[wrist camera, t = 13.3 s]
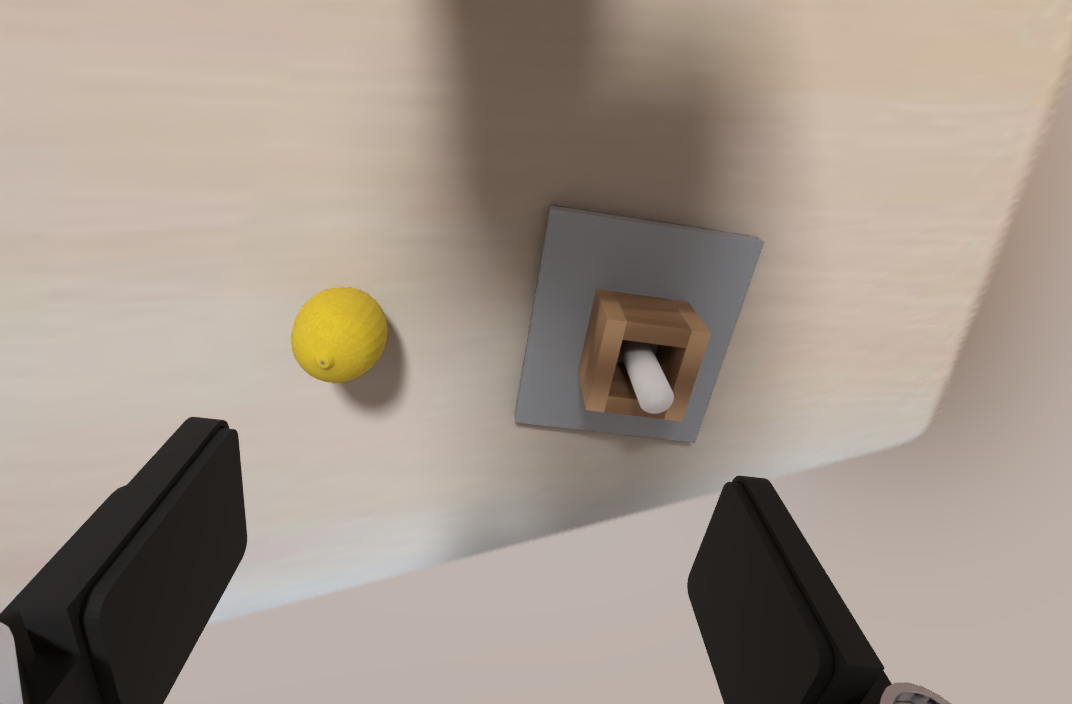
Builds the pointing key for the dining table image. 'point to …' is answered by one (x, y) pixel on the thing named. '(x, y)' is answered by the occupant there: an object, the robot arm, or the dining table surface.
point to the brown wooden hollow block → (646, 323)
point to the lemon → (339, 334)
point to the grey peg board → (636, 268)
